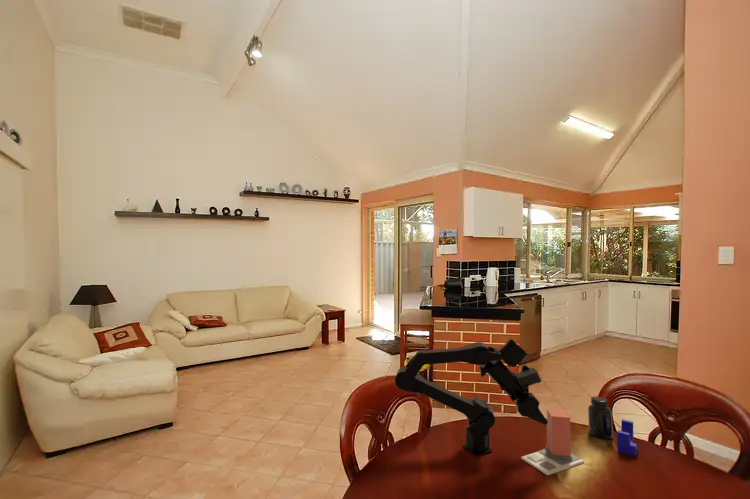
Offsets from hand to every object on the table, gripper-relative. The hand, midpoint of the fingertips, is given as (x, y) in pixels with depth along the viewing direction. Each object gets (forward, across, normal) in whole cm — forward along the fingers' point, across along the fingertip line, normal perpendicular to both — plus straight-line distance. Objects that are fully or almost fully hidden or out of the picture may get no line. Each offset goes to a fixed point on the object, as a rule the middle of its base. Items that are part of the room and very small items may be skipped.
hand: (542, 416), depth 107 cm
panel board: (+10, -2, +7) cm, 12 cm away
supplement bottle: (+24, +18, -8) cm, 31 cm away
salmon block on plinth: (+11, 0, +4) cm, 12 cm away
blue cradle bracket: (+28, +12, -12) cm, 33 cm away
